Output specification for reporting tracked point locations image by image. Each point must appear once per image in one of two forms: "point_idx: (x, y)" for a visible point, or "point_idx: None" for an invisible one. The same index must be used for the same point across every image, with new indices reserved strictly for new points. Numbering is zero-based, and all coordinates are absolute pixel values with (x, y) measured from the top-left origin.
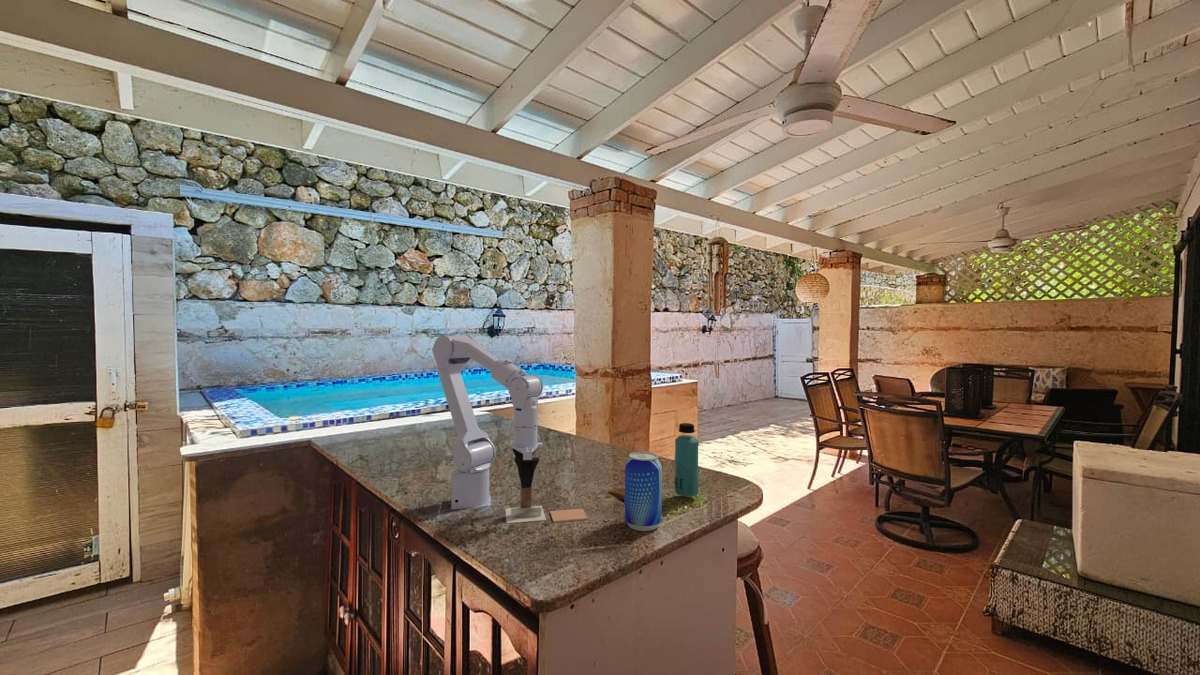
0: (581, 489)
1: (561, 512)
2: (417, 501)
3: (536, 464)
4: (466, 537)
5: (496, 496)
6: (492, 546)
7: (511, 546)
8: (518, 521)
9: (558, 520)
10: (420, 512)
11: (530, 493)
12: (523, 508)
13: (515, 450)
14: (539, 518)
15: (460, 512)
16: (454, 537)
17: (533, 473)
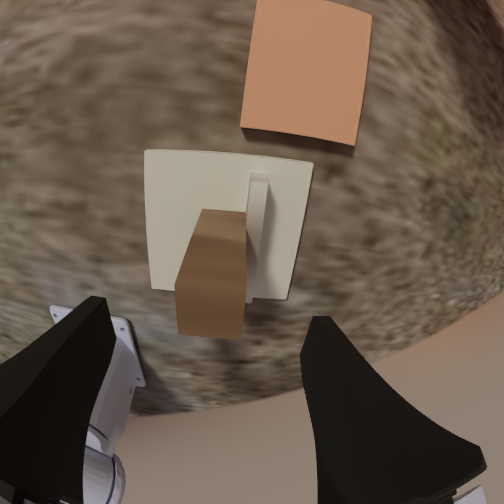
0: (27, 3)
1: (274, 81)
2: None
3: (458, 439)
4: None
5: (44, 287)
6: (389, 327)
7: (414, 292)
8: (289, 265)
9: (358, 124)
10: (151, 412)
11: (245, 266)
12: (252, 261)
13: (71, 502)
14: (290, 186)
15: (156, 372)
16: None
17: (391, 387)
